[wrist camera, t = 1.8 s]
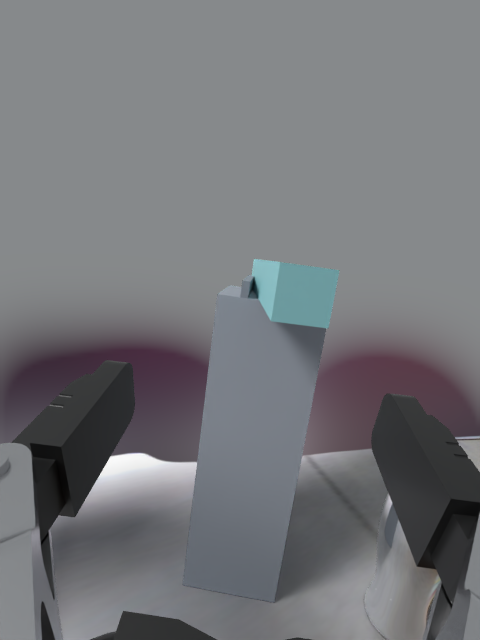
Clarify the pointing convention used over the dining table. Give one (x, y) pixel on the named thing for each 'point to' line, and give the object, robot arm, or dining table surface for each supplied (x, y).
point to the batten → (295, 292)
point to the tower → (249, 446)
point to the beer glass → (398, 583)
